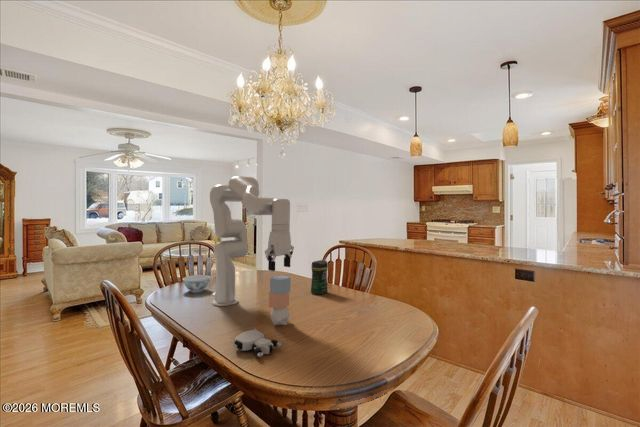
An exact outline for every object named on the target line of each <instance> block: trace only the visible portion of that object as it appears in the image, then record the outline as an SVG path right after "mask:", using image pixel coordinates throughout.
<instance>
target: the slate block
mask: <svg viewBox="0 0 640 427" xmlns="http://www.w3.org/2000/svg"><path fill="white" fill-rule="evenodd" d="M269 292H271V293H276V294H281V295H282V294H284V293H287V292H289V293H290V292H291V277H290V276H285V275H277V276H276V275H275V276H273V277H270V278H269Z"/></svg>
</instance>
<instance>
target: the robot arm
mask: <svg viewBox="0 0 640 427" xmlns="http://www.w3.org/2000/svg"><path fill="white" fill-rule="evenodd" d="M259 195H260V186H259V181H258V180H257V179H256V178H255V177H252V176H243V175H237V176H233V177H231V178H230V179H229V180H228V184H216V185H214V186H212V188H211V189H210V192H209V202H210V205H211V208H212V213H213V221H214V222H213V223H214V232H215V236H216V237H217V238H219V239H229V240H221V241H218V242H216V243H215V244H214V246H213V256H214V263H215V292H214V293H212V294H211V295H212V297H214V299H213V300H212V305H214V306H218V307H228V306H232V305H236V304H238V302H239V298H238V297H236V266H235V264H234V262H233V261H232V260H233V259H240V258H244V257H245V256H247V254H248V250H249V249H248V248H249V245H248V244H249V243H248V236H247V226H246V224H245V222H244V221H243V220H242V219H239V218H238V219H237V218H233V219H232V214H231V213H232V212H231V211H232V210H231V209H230V207H229V206H228V204H227V203H228V202H230V203H234V202H239V203H240V202H242V204H243V207H244V209H245V210H246V211H248V212H249V213H251V214H253V215H255V216H271V230H270V231H269V237H268V244H267V248H266V249H265V250H264V255H265V258H266V259H267V261H268V262H267V263H268V267H267V269H268V271H270V272H275V271H276V259H277V257H280V256H283V267H284V268H285V267H286V268H291V258H292V256H293V253H294V249H295V247H294V246H293V245H292V243H291V242H292V238H291V231H290V224H291V223H290V222H291V200H289V199H288V198H277V197H259ZM226 202H227V203H226ZM230 238H233V239H230Z"/></svg>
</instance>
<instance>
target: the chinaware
mask: <svg viewBox="0 0 640 427" xmlns="http://www.w3.org/2000/svg"><path fill="white" fill-rule="evenodd" d="M210 282H211V275H207V274H197V275H196V274H192V275H188V276H185V277H183V278H182V283H183V285H184V286H185V288H186V289H187V290H189V291H190V292H191V293H196V294H197V293H200V292H203V291H204V289H205V288H207V287H208V285H209V284H210Z"/></svg>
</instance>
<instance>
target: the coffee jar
mask: <svg viewBox="0 0 640 427" xmlns="http://www.w3.org/2000/svg"><path fill="white" fill-rule="evenodd" d="M310 267H311V285H310V292H311V293H312V294H313V295H323V294H327V293H328V268H329V264H328V261H327V260H322V259H320V260H315V261H312V263H311V266H310Z"/></svg>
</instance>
